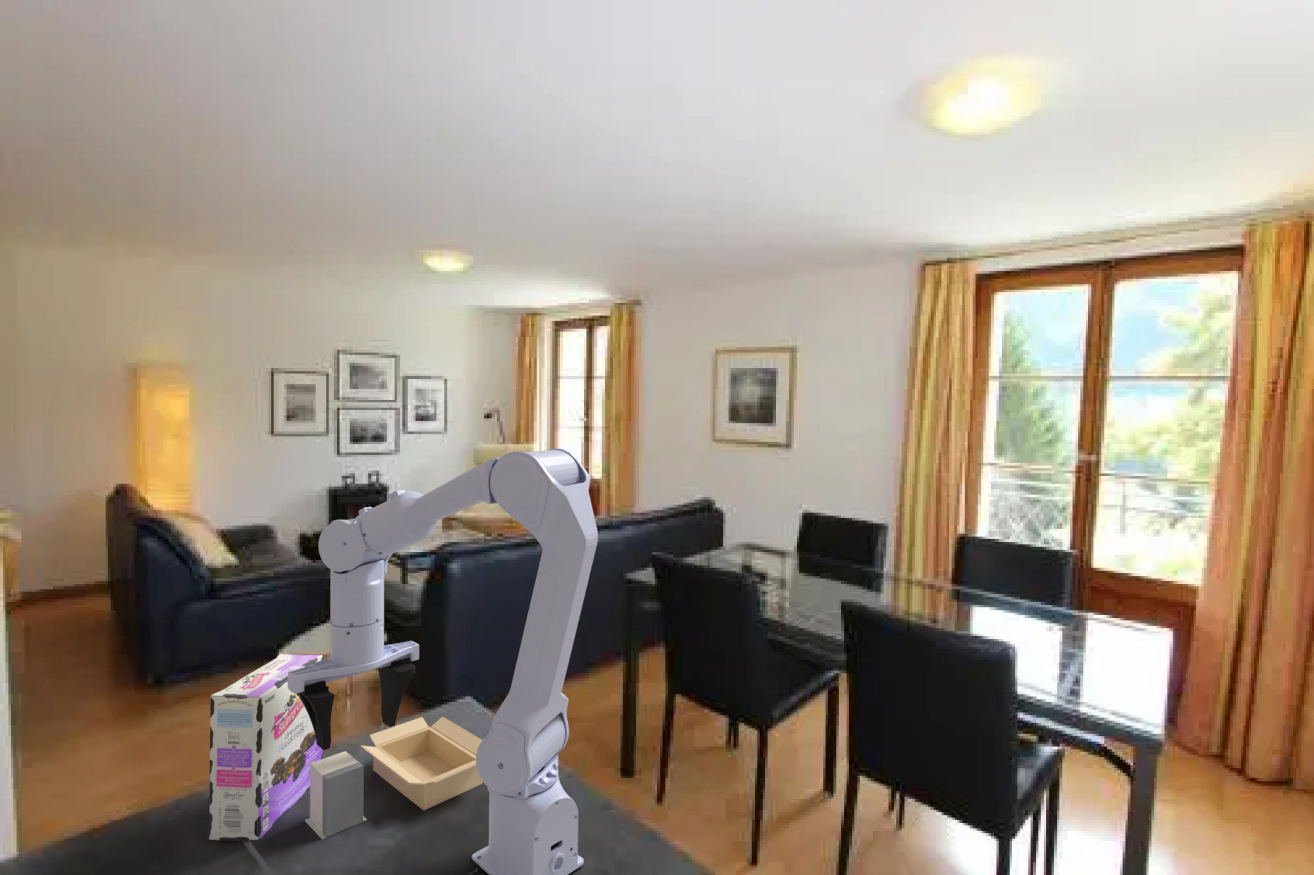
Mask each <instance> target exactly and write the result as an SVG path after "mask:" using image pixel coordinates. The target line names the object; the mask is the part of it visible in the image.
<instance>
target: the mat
mask: <svg viewBox="0 0 1314 875" xmlns="http://www.w3.org/2000/svg"><path fill="white" fill-rule="evenodd" d="M367 820H368V819H367V818H366V816H364V815H363V822H364V821H365V822H366V821H367ZM304 821H305V823H306V824H307V825H308V826H309V827H310V828H311V830H313V831H314V832H315V833H316V835H317V836H318V837H319V838H320V839H321V840H324V839H327V837H326V836H325V835H324V834H323V833H322V831H321V830H320V829H319V828H318V827H317V826H316V825H315V823H314V822H313V821H312V820H311V819H310V817H309V818H307V819H304Z"/></svg>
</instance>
